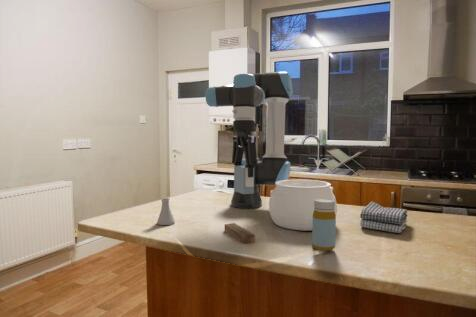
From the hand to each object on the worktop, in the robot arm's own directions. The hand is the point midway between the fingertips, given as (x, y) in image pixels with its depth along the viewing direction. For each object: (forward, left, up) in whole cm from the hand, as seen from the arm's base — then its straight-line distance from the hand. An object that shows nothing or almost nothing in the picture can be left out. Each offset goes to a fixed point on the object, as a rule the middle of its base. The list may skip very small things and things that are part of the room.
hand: (243, 185), depth 117 cm
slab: (0, 0, -3) cm, 3 cm away
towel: (-55, +13, -18) cm, 59 cm away
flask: (+21, -27, -18) cm, 39 cm away
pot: (-28, -3, -18) cm, 33 cm away
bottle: (-17, +23, -18) cm, 34 cm away
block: (+2, +1, -18) cm, 18 cm away
